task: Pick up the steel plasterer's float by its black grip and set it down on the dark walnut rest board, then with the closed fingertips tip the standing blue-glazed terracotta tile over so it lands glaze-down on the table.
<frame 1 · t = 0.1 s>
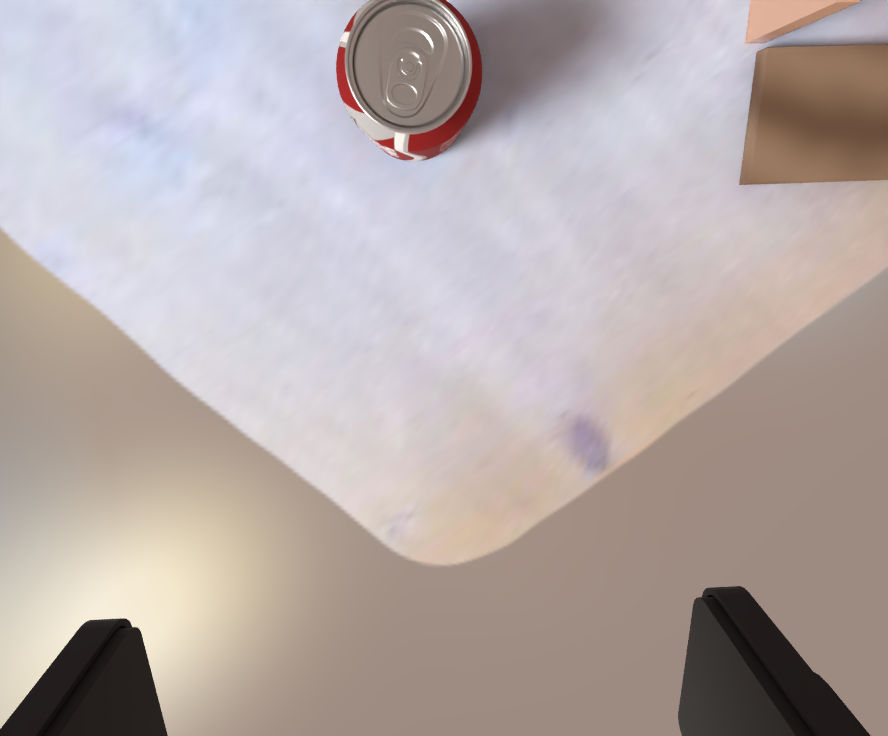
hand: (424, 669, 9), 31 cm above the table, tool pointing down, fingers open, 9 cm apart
soda can: (413, 106, 35), on the table
rest board: (829, 118, 36), on the table
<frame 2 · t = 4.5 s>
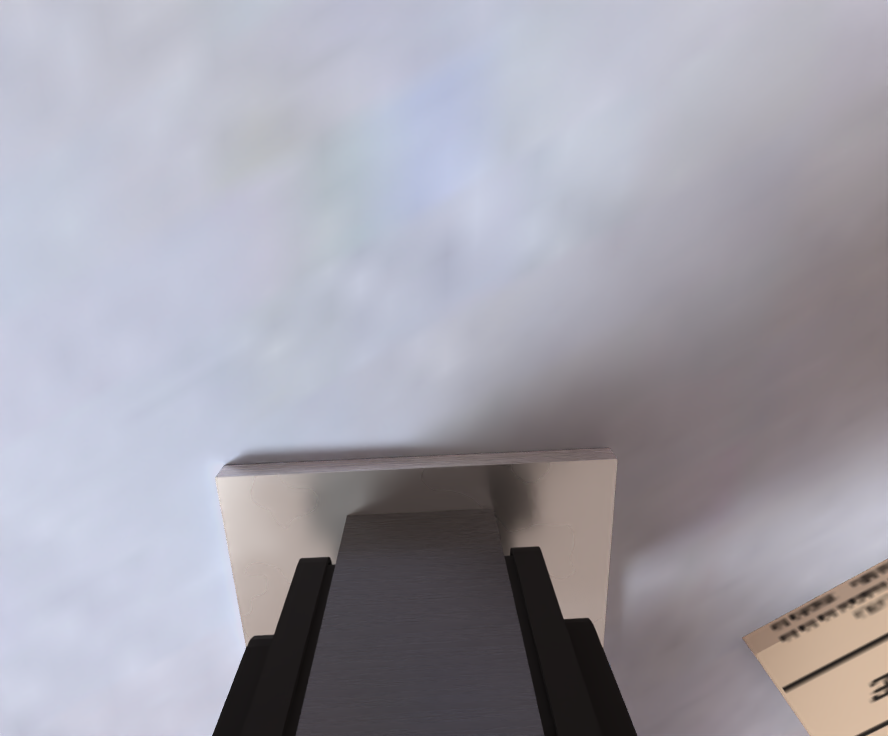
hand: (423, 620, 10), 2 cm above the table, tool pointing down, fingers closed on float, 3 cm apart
float: (423, 557, 12), on the table, touching gripper
when the fingers open (4 cm above the table, at t = 9.3 s): float drops 1 cm, resting on rest board.
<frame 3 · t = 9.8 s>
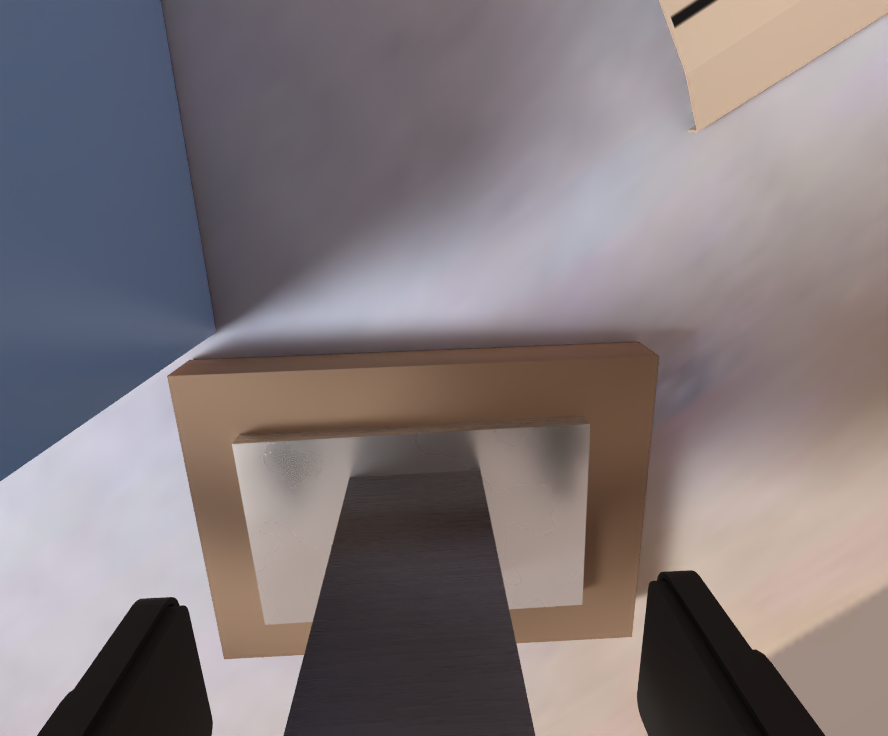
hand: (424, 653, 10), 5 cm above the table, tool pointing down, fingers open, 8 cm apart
float: (419, 517, 13), point 1 cm above the table, touching rest board
rest board: (423, 494, 15), on the table
tile: (153, 161, 12), on the table
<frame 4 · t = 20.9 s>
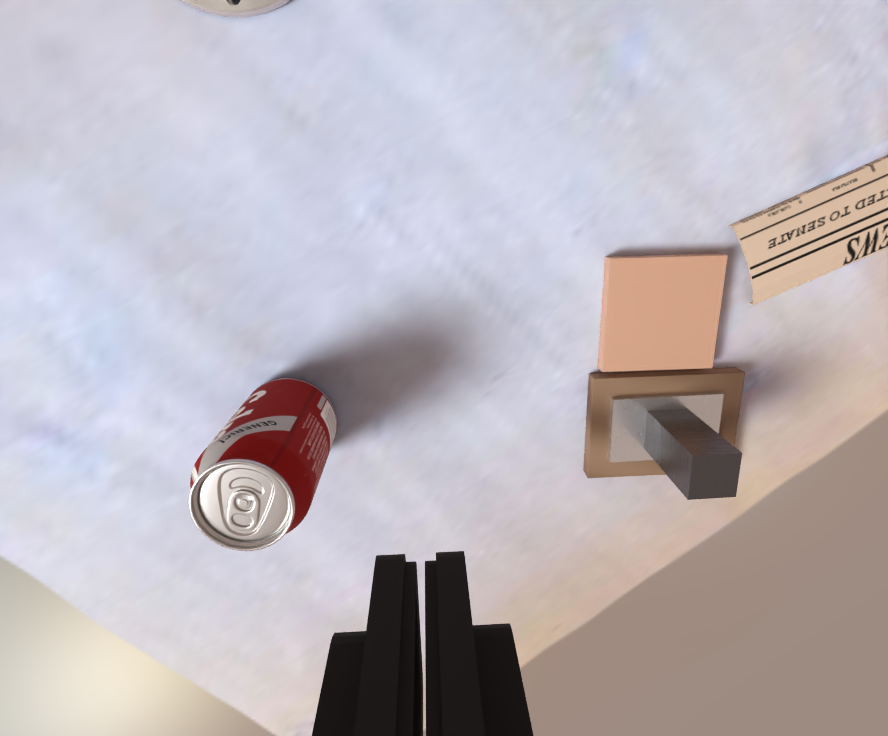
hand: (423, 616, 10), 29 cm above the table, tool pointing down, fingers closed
float: (662, 426, 40), point 1 cm above the table, touching rest board
soda can: (293, 416, 40), on the table
rest board: (657, 420, 41), on the table
tile: (602, 314, 38), on the table, tilted 90°
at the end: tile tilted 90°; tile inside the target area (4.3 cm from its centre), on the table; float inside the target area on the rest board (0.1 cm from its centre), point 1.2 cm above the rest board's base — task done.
